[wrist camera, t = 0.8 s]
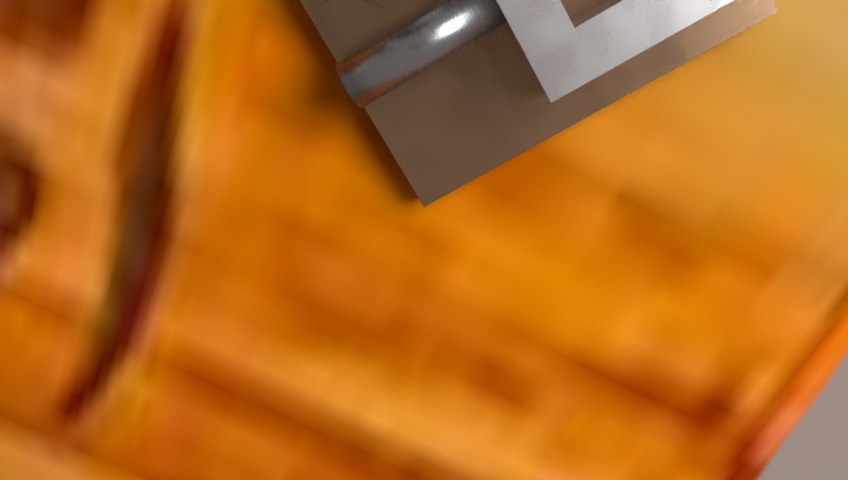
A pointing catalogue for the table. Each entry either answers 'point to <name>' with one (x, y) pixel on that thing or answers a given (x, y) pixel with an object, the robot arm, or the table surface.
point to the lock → (505, 69)
